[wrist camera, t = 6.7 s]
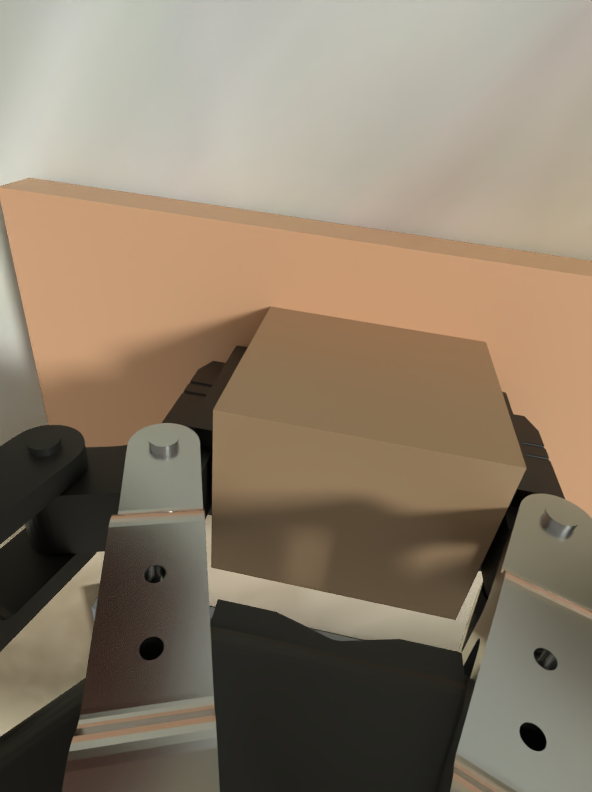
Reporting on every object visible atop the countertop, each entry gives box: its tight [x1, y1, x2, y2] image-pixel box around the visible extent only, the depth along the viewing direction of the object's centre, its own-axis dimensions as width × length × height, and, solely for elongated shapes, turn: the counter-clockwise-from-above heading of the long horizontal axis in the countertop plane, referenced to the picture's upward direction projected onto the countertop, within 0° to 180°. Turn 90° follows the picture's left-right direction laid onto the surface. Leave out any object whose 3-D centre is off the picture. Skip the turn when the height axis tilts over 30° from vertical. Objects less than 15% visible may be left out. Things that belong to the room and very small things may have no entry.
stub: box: [0, 178, 592, 620], centre depth 11 cm, size 18×8×6 cm, turn 84°
